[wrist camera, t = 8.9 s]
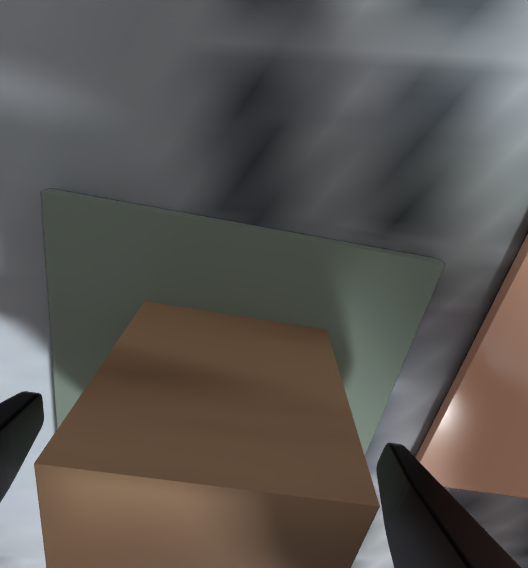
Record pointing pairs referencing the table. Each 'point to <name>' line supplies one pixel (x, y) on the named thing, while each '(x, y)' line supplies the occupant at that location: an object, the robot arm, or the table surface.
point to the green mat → (226, 289)
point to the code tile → (488, 402)
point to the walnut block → (208, 451)
